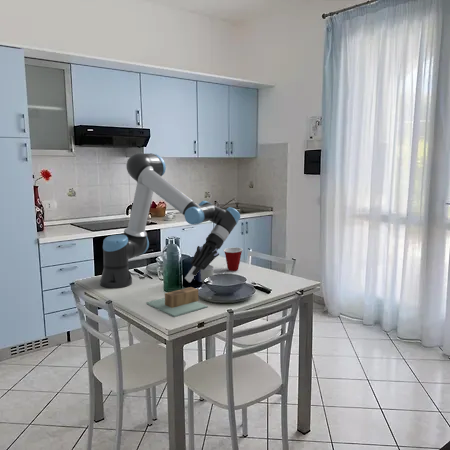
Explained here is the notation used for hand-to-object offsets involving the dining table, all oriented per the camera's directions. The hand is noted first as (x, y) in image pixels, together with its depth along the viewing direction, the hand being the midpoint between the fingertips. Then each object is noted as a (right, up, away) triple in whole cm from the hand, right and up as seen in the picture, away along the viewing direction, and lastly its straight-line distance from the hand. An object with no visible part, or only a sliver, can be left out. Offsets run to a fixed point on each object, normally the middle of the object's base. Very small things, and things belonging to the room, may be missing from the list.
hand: (187, 280), depth 180 cm
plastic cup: (+20, -2, +57) cm, 61 cm away
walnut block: (+3, -6, +4) cm, 8 cm away
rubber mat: (-4, -10, -2) cm, 11 cm away
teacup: (+4, -5, +33) cm, 33 cm away
